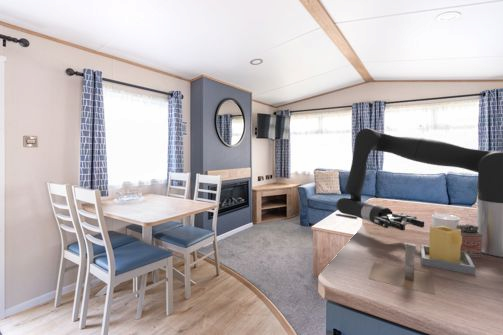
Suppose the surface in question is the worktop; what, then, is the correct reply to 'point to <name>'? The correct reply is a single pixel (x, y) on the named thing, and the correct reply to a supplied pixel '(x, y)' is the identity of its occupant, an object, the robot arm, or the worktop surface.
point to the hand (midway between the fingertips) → (414, 226)
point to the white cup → (445, 221)
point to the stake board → (404, 273)
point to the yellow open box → (445, 244)
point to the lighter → (471, 240)
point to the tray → (463, 266)
